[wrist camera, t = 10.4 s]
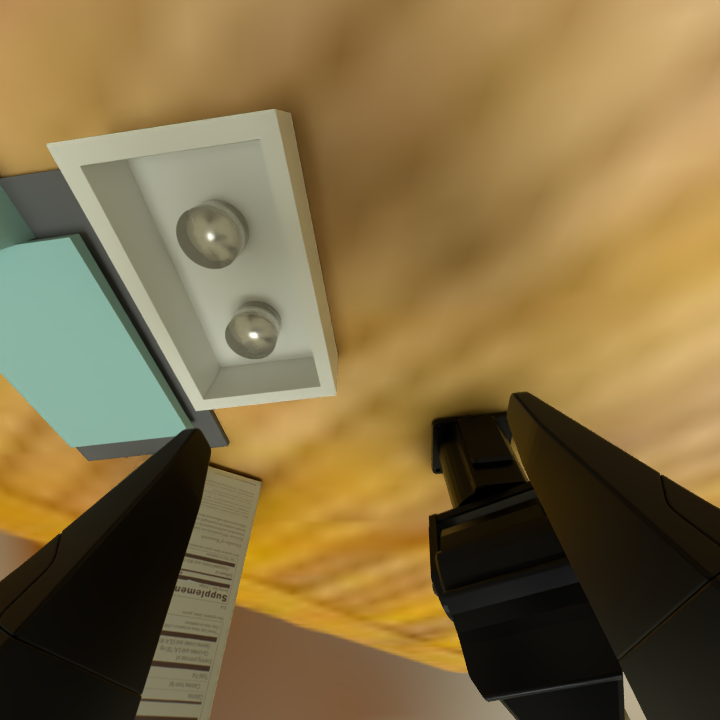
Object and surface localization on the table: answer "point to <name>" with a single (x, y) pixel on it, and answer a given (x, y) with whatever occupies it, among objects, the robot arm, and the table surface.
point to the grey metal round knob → (212, 233)
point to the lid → (75, 343)
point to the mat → (65, 217)
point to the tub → (203, 285)
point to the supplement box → (202, 603)
